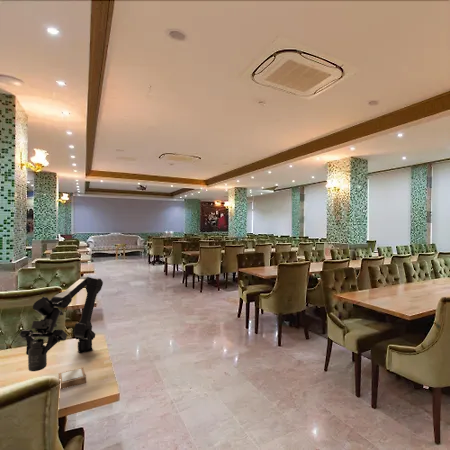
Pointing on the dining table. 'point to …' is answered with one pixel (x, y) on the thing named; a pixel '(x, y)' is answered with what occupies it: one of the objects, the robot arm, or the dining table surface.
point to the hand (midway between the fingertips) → (35, 354)
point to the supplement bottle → (37, 355)
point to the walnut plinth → (72, 378)
